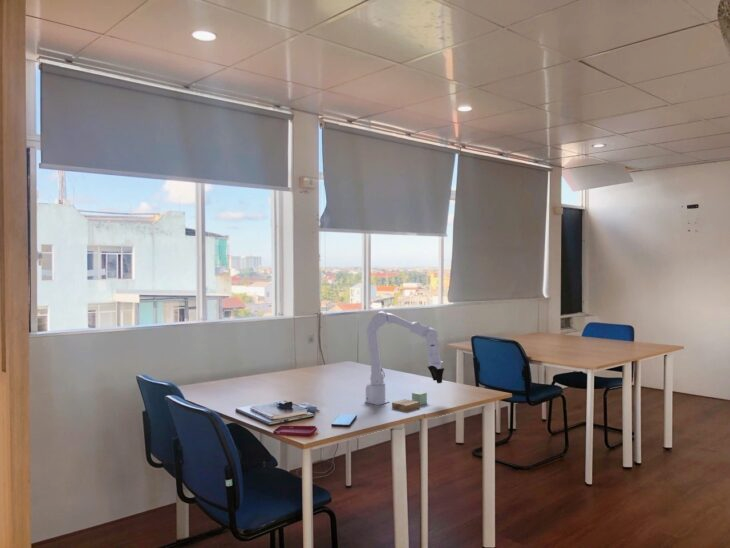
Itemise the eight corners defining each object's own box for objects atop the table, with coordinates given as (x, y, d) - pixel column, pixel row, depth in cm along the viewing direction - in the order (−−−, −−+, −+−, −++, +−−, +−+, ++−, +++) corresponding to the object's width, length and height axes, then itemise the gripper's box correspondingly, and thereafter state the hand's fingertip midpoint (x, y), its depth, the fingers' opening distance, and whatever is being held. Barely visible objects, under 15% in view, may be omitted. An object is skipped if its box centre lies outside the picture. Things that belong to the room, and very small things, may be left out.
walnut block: (392, 408, 269) (391, 402, 269) (405, 405, 276) (404, 399, 276) (406, 412, 263) (406, 405, 263) (419, 408, 269) (419, 402, 269)
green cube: (412, 403, 278) (411, 392, 278) (418, 401, 281) (418, 391, 281) (420, 405, 274) (419, 394, 274) (426, 403, 278) (426, 392, 278)
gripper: (445, 354, 271) (449, 382, 271) (437, 350, 285) (441, 377, 285) (431, 356, 270) (435, 385, 270) (424, 352, 284) (427, 380, 284)
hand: (437, 381), depth 277 cm, fingers open, 7 cm apart
